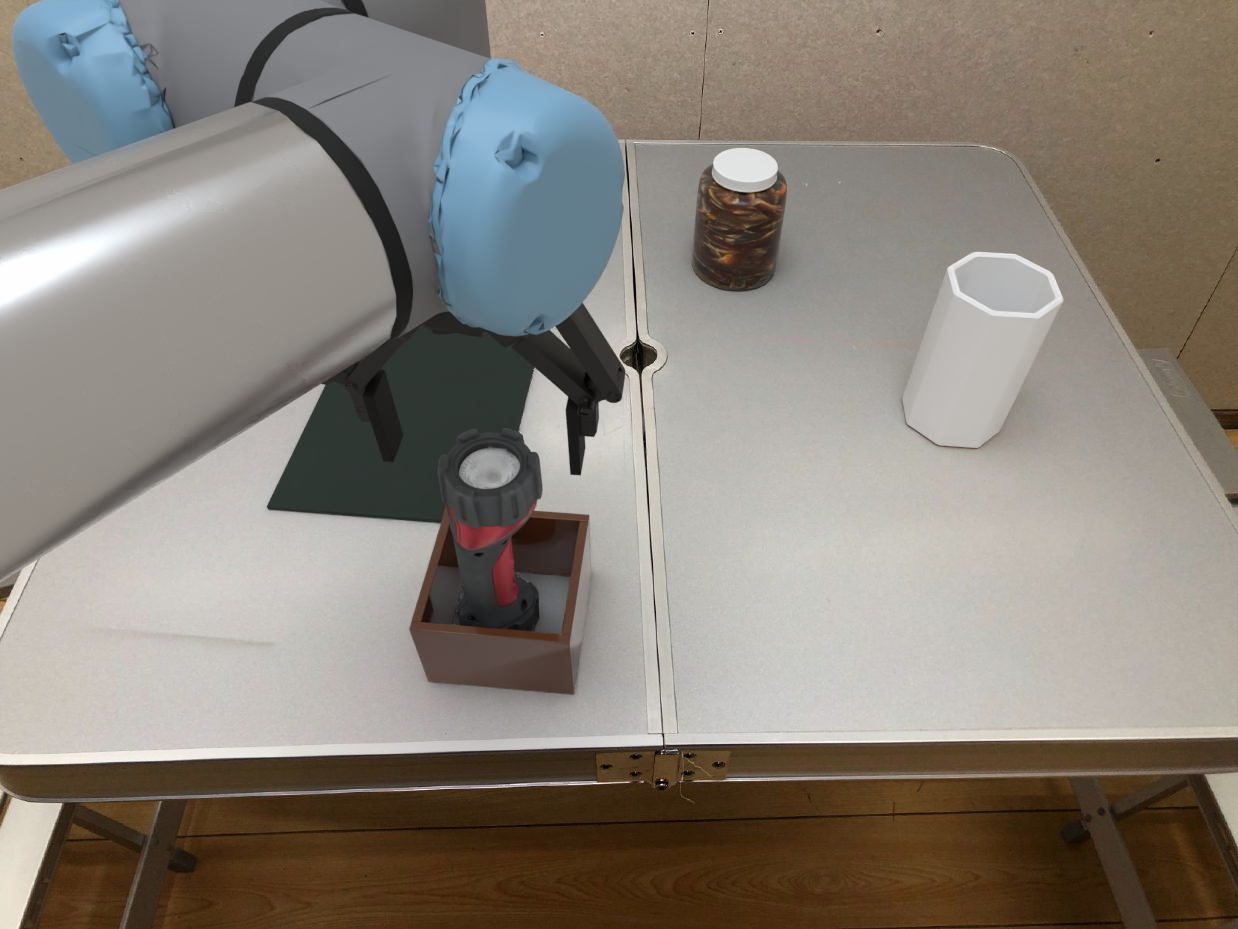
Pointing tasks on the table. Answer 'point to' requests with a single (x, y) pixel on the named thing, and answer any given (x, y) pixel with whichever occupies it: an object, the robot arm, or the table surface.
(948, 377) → the cup
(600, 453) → the table surface
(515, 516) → the flashlight
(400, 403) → the mat
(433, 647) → the brown open box
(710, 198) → the jar
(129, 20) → the robot arm
